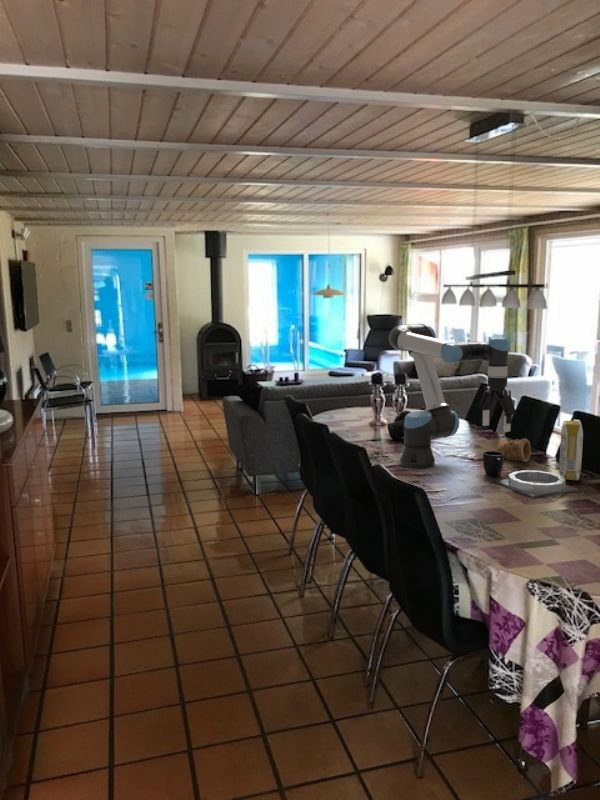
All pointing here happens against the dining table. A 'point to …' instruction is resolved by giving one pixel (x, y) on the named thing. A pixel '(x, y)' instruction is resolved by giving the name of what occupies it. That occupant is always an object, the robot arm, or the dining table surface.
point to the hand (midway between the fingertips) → (496, 428)
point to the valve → (397, 426)
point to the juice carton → (571, 449)
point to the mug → (493, 463)
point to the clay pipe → (515, 449)
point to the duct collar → (537, 483)
